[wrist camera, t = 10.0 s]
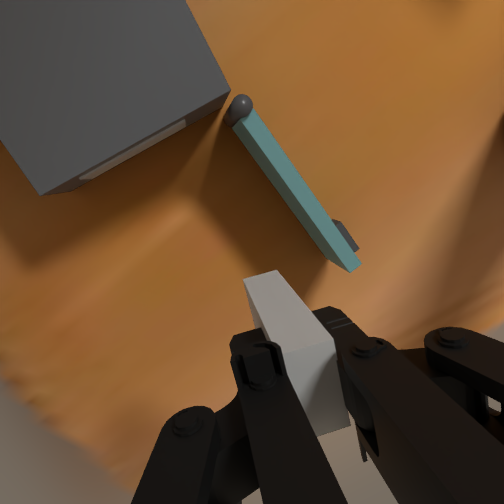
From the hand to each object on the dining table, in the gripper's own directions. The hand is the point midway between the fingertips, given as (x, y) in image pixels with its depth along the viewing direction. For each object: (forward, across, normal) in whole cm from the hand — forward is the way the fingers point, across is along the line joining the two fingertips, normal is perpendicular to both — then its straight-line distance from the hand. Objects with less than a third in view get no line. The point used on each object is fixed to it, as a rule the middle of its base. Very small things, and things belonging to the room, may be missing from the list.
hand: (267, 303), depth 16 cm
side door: (+13, +5, +3) cm, 14 cm away
